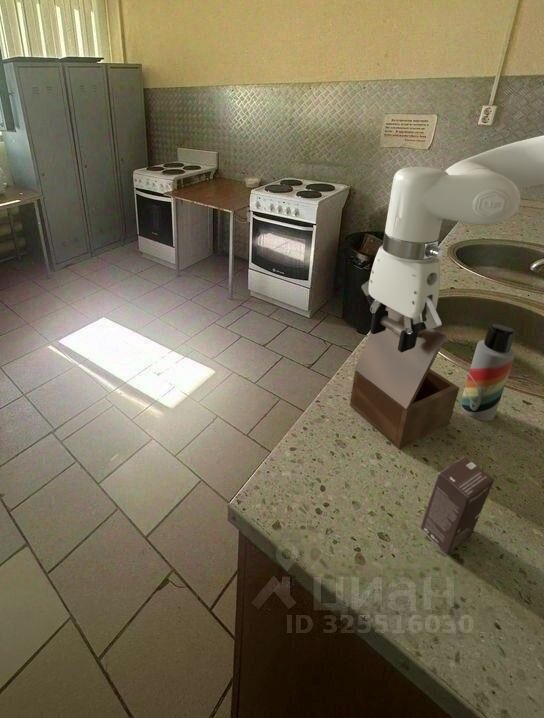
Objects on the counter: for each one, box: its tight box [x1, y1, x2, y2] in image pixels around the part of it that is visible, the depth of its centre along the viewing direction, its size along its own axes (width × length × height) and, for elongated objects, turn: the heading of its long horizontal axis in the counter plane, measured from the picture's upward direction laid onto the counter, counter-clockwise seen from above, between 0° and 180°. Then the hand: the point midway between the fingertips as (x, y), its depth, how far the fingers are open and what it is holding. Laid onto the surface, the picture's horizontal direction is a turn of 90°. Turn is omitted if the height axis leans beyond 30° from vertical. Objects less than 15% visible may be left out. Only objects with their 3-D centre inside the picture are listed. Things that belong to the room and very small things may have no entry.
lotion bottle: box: [460, 322, 516, 422], centre depth 76 cm, size 6×6×20 cm
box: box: [419, 456, 495, 556], centre depth 56 cm, size 6×4×12 cm
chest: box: [349, 368, 460, 450], centre depth 77 cm, size 14×12×9 cm
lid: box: [353, 307, 447, 409], centre depth 71 cm, size 15×12×5 cm
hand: (391, 339), depth 70 cm, fingers closed on lid, 5 cm apart
